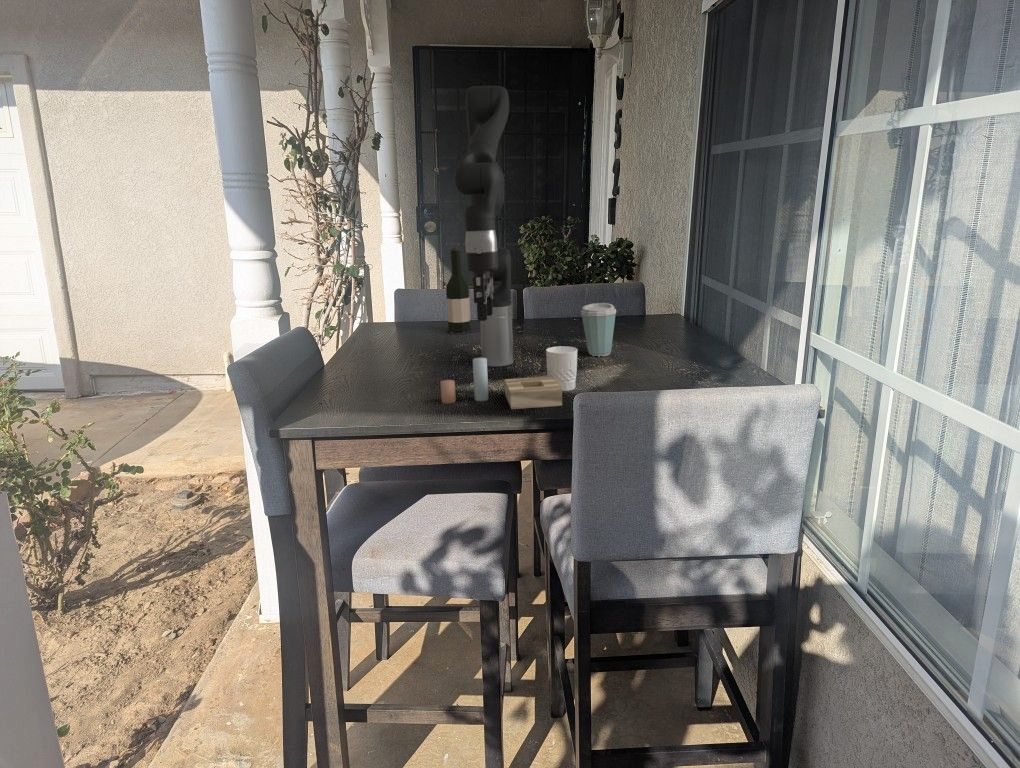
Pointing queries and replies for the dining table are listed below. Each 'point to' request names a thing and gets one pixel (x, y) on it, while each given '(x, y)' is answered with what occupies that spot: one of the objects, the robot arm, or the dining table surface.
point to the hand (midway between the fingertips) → (485, 318)
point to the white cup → (562, 366)
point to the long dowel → (480, 379)
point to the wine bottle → (458, 297)
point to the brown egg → (448, 391)
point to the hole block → (533, 392)
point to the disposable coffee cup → (599, 327)
